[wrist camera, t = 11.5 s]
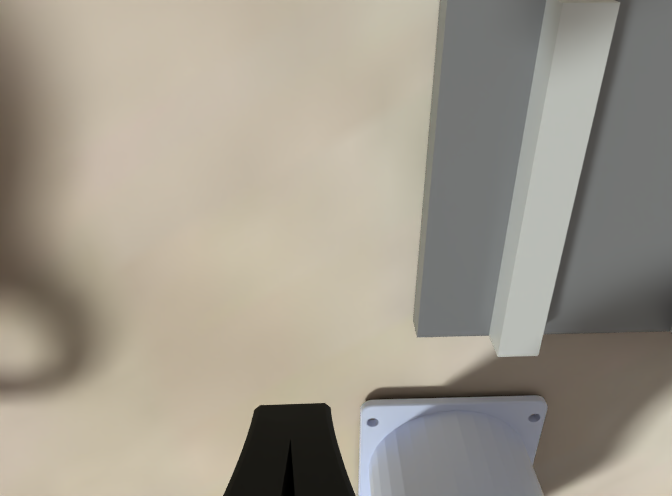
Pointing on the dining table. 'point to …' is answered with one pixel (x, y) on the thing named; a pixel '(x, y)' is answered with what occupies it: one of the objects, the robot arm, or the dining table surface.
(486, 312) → the board
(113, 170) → the dining table surface
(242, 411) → the dining table surface
